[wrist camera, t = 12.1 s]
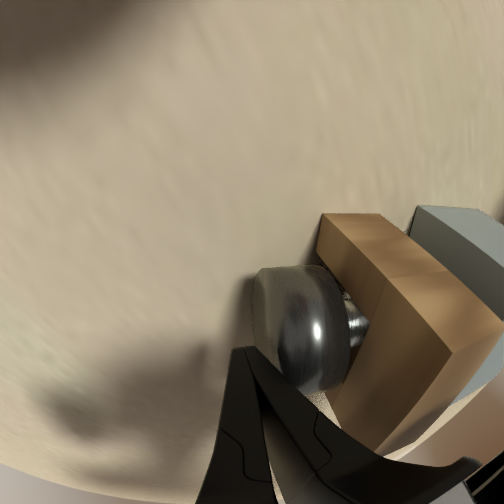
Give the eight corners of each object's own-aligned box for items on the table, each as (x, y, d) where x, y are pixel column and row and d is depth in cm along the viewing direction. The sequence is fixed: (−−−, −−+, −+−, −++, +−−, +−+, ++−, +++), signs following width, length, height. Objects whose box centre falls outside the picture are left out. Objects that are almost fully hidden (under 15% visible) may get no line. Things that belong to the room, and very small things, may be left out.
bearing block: (478, 209, 15) (560, 268, 9) (438, 311, 19) (494, 377, 13) (417, 205, 13) (522, 284, 8) (376, 326, 17) (436, 413, 12)
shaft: (466, 234, 15) (524, 280, 11) (439, 301, 17) (484, 350, 13) (257, 243, 12) (303, 335, 8) (248, 335, 14) (278, 424, 10)
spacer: (379, 213, 13) (507, 326, 6) (345, 327, 17) (415, 441, 10) (322, 213, 12) (452, 353, 6) (297, 335, 16) (359, 466, 9)
